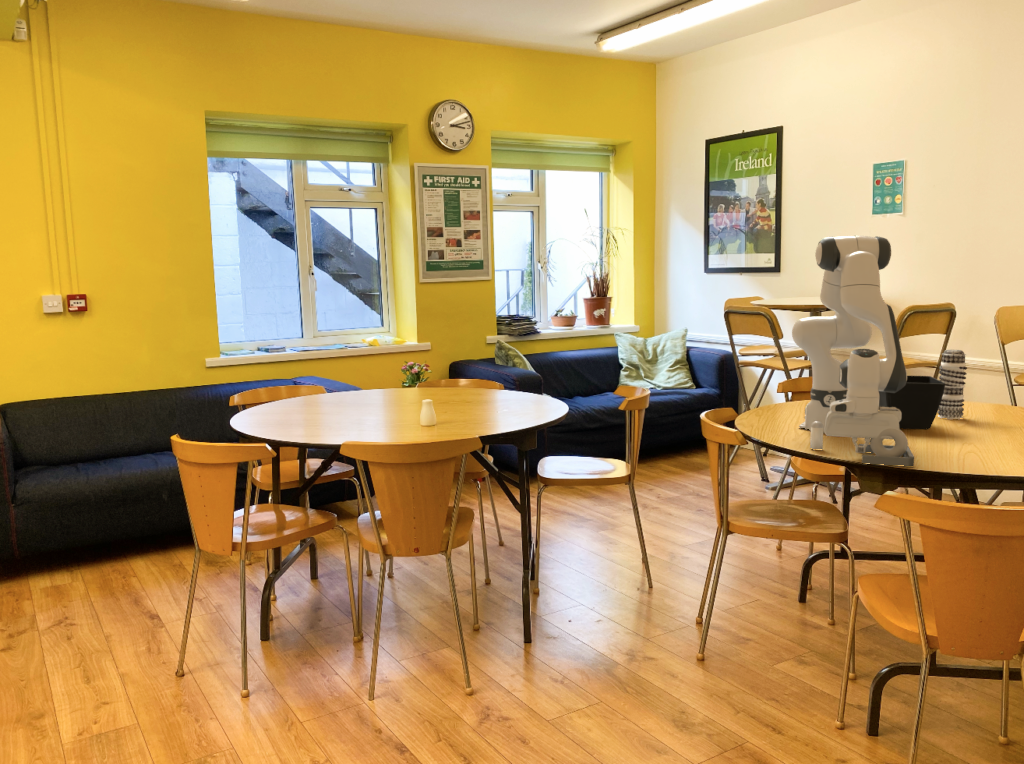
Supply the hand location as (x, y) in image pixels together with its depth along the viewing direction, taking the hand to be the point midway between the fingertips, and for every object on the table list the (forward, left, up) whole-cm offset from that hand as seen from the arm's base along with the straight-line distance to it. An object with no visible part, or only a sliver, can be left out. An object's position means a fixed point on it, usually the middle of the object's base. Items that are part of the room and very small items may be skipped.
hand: (860, 452), depth 243 cm
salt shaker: (-9, -12, -2) cm, 15 cm away
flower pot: (-59, +18, -2) cm, 62 cm away
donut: (+1, +7, -2) cm, 8 cm away
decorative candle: (-82, +35, -2) cm, 89 cm away
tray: (0, +7, -2) cm, 7 cm away
